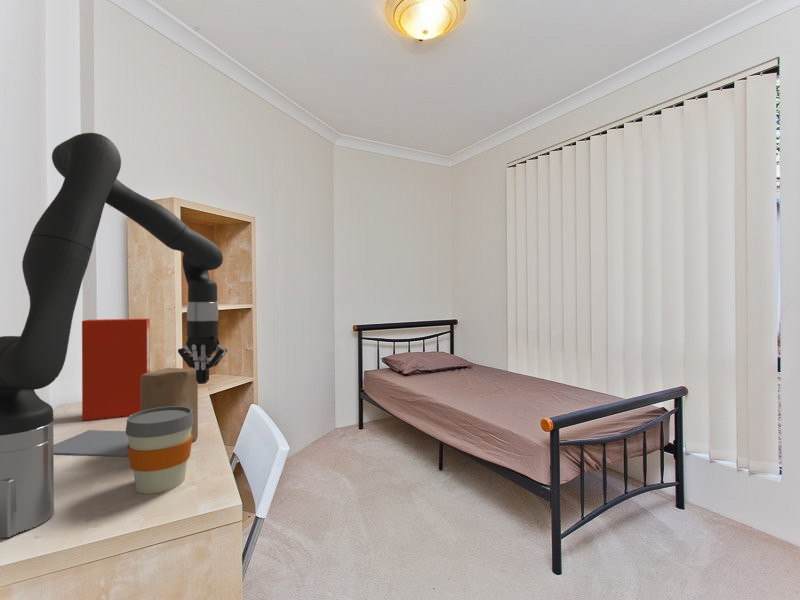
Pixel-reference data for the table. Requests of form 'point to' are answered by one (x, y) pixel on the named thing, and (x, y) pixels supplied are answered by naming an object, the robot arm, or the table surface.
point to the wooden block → (171, 391)
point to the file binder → (113, 366)
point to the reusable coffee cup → (159, 447)
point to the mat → (94, 444)
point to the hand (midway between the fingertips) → (202, 383)
